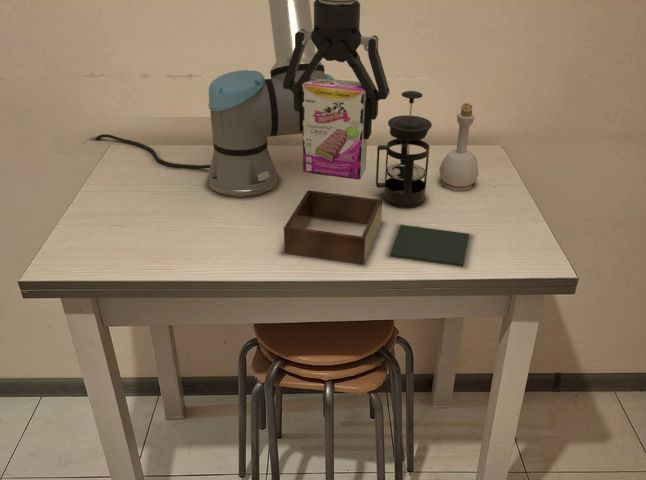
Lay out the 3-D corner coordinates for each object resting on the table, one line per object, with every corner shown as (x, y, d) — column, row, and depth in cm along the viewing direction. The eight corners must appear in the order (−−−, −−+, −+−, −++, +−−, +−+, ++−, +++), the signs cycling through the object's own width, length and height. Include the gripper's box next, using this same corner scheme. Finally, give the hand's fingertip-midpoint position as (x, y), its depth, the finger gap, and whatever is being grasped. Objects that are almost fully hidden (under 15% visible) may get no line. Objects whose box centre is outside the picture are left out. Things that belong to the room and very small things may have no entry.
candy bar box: (302, 174, 129) (300, 84, 119) (309, 163, 133) (308, 75, 123) (361, 181, 127) (364, 90, 117) (366, 170, 131) (370, 81, 121)
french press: (425, 189, 157) (435, 85, 143) (431, 208, 150) (442, 101, 135) (373, 188, 156) (378, 84, 142) (376, 208, 149) (381, 100, 135)
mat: (390, 256, 134) (390, 253, 133) (400, 227, 143) (400, 224, 142) (462, 266, 131) (463, 263, 131) (468, 236, 141) (469, 233, 140)
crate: (284, 253, 133) (283, 227, 130) (308, 214, 146) (307, 190, 143) (364, 264, 131) (365, 238, 128) (381, 223, 144) (382, 199, 140)
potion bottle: (475, 176, 163) (486, 99, 152) (476, 193, 156) (488, 113, 145) (438, 174, 164) (446, 97, 152) (437, 190, 157) (446, 111, 145)
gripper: (259, -2, 111) (266, 132, 124) (405, 11, 107) (395, 148, 121) (274, -12, 116) (279, 118, 130) (413, 0, 113) (403, 132, 126)
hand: (335, 132), depth 125 cm, fingers closed on candy bar box, 11 cm apart
